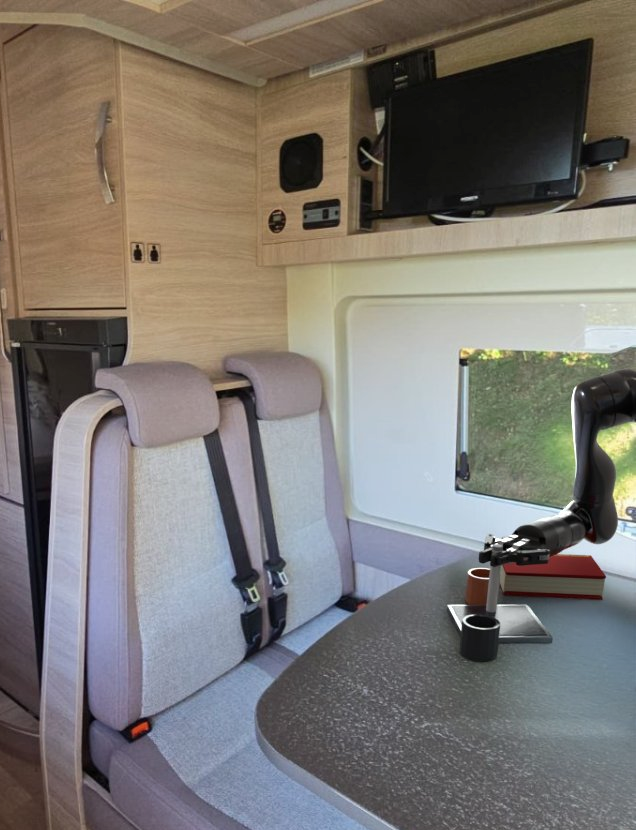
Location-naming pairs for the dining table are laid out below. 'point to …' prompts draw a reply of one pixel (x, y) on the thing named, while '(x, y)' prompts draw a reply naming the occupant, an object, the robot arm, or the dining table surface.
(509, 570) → the book
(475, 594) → the pen cup
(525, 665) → the dining table surface
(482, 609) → the tablet
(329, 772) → the dining table surface
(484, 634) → the holder
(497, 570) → the stylus
